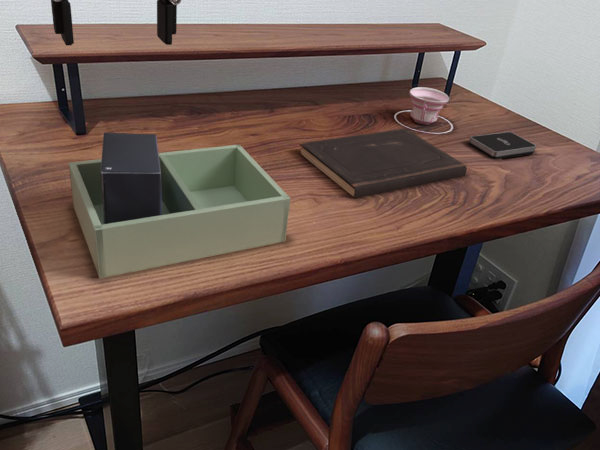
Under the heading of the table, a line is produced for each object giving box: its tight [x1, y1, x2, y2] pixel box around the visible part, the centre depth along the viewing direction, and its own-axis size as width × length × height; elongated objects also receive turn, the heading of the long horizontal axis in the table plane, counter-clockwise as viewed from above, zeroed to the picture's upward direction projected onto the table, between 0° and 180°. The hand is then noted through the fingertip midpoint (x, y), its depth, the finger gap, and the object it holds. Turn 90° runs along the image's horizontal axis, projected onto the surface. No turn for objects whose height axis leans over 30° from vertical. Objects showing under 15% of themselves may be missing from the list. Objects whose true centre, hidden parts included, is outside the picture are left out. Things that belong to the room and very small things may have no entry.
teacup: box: [393, 86, 454, 135], centre depth 110 cm, size 12×12×6 cm
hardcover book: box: [299, 128, 468, 200], centre depth 92 cm, size 16×23×2 cm
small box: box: [101, 132, 162, 224], centre depth 64 cm, size 11×6×10 cm, turn 15°
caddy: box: [68, 144, 291, 280], centre depth 68 cm, size 22×16×7 cm
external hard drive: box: [468, 131, 537, 160], centre depth 104 cm, size 7×11×2 cm, turn 118°
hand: (117, 41), depth 56 cm, fingers open, 9 cm apart
